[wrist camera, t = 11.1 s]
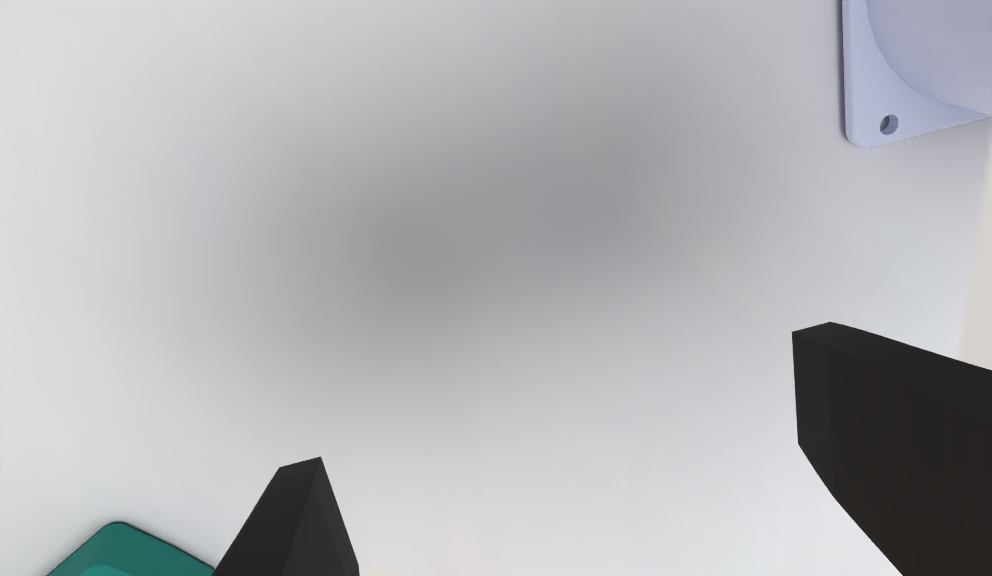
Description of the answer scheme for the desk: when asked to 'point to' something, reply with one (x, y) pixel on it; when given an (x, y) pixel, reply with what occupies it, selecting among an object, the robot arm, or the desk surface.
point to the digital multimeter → (129, 556)
